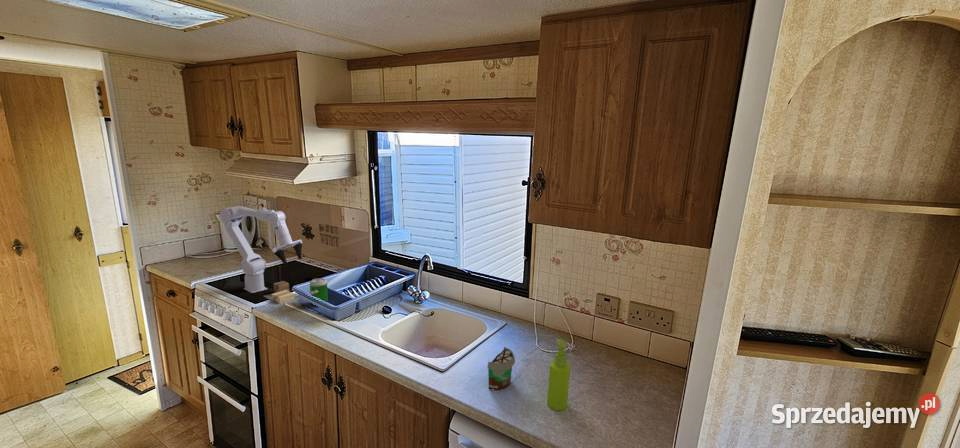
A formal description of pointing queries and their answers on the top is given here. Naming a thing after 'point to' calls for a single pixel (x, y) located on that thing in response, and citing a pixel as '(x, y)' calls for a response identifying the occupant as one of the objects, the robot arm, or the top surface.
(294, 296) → the rubber mat
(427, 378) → the top surface
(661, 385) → the top surface
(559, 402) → the soap dispenser
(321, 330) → the top surface
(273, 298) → the pedestal
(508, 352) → the food container
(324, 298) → the soda can
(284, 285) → the walnut cube
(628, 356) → the top surface
